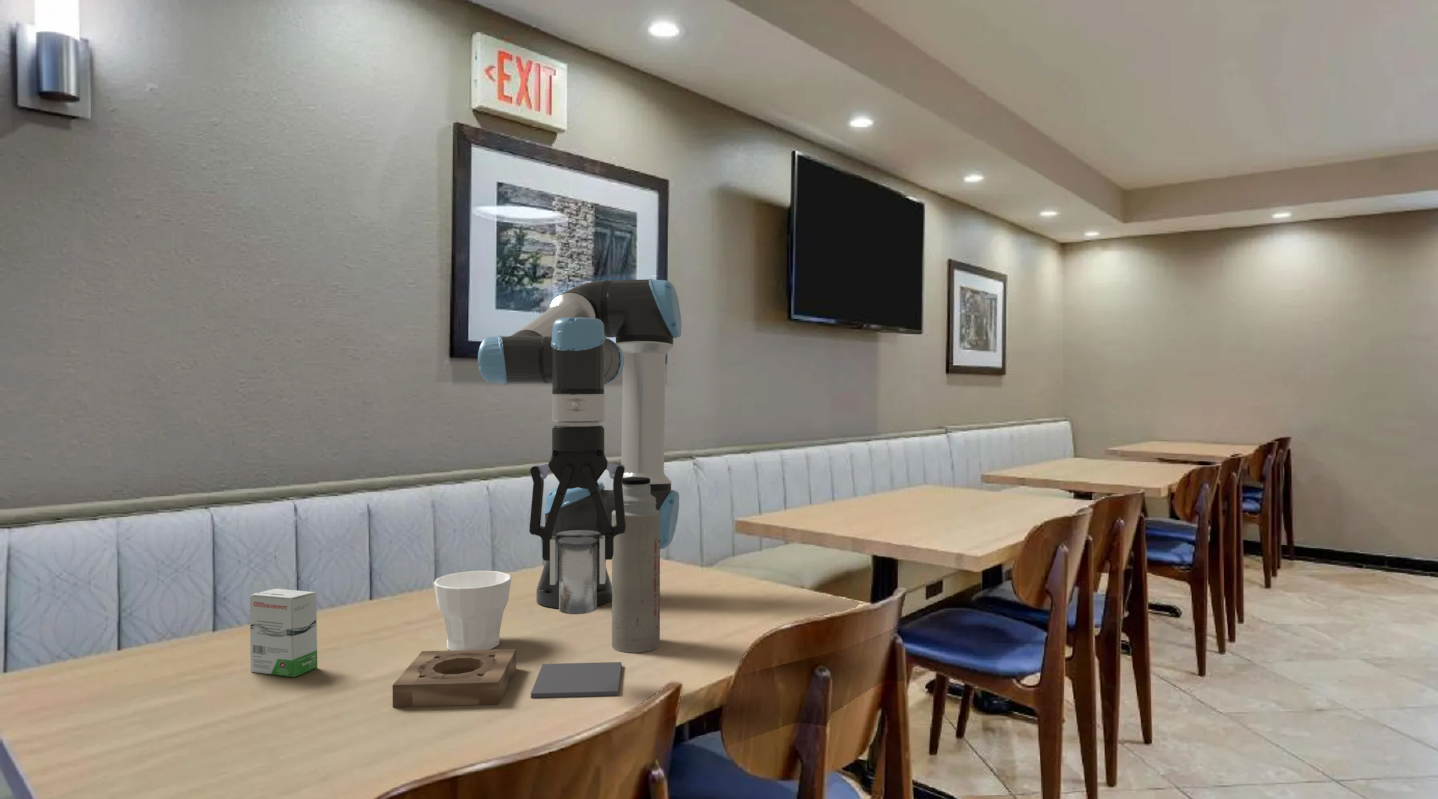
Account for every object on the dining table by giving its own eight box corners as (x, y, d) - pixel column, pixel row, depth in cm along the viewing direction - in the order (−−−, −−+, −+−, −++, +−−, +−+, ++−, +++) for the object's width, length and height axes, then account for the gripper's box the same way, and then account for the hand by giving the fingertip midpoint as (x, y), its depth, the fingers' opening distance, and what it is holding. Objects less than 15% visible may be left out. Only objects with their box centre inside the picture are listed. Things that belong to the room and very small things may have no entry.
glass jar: (558, 603, 122) (558, 530, 122) (601, 603, 123) (601, 530, 123) (553, 615, 116) (553, 538, 116) (598, 614, 116) (598, 537, 116)
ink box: (319, 667, 125) (318, 590, 125) (293, 678, 120) (292, 598, 120) (275, 661, 128) (275, 585, 128) (248, 672, 123) (247, 593, 123)
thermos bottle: (665, 639, 139) (665, 475, 139) (652, 654, 132) (652, 480, 131) (620, 636, 141) (620, 474, 140) (605, 651, 133) (605, 479, 133)
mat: (542, 667, 125) (542, 663, 125) (621, 665, 126) (621, 662, 126) (530, 697, 113) (530, 693, 113) (617, 695, 114) (617, 691, 114)
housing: (422, 670, 124) (422, 651, 124) (516, 668, 125) (516, 648, 125) (392, 707, 110) (392, 685, 110) (498, 704, 111) (498, 682, 111)
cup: (527, 639, 139) (527, 574, 139) (476, 661, 128) (476, 591, 128) (470, 629, 144) (470, 567, 144) (417, 650, 133) (416, 583, 133)
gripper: (506, 425, 114) (506, 589, 115) (644, 425, 116) (644, 587, 116) (515, 423, 122) (515, 577, 122) (645, 423, 123) (645, 575, 124)
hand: (578, 581), depth 119 cm, fingers closed on glass jar, 6 cm apart
